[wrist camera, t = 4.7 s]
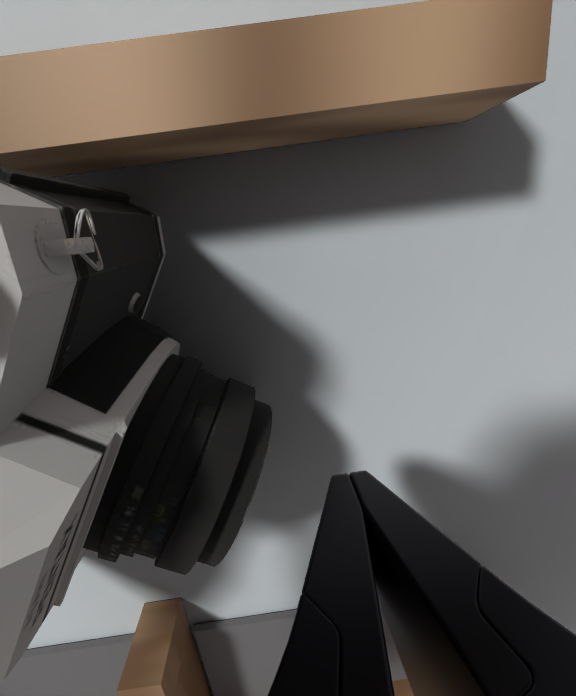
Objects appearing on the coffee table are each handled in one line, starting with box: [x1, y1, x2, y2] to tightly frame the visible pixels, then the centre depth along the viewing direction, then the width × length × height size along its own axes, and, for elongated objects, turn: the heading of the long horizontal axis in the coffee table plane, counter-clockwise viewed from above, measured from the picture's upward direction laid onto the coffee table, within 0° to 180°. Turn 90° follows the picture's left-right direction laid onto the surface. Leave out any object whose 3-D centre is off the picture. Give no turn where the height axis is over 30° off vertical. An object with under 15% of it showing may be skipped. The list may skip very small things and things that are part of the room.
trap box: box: [0, 0, 552, 696], centre depth 12 cm, size 24×26×3 cm
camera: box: [0, 167, 272, 681], centre depth 9 cm, size 13×8×9 cm, turn 158°
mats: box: [0, 603, 407, 696], centre depth 16 cm, size 20×5×1 cm, turn 97°
